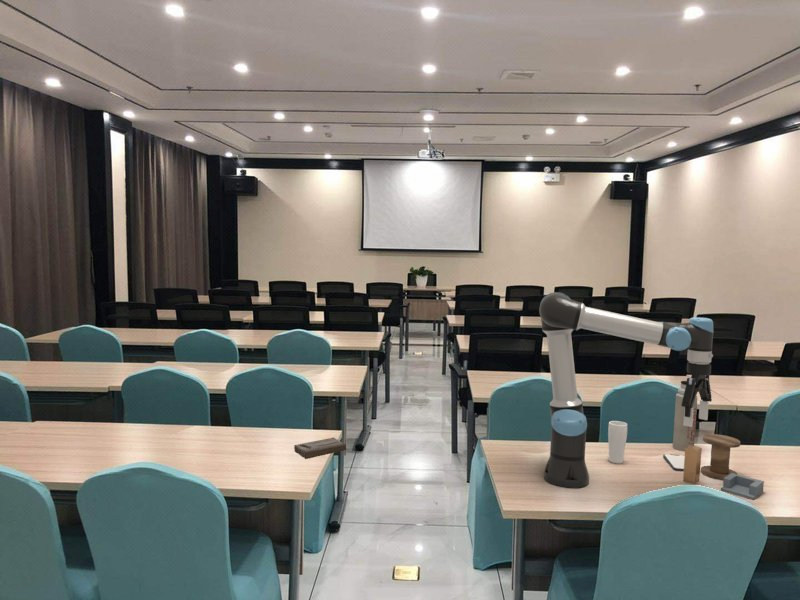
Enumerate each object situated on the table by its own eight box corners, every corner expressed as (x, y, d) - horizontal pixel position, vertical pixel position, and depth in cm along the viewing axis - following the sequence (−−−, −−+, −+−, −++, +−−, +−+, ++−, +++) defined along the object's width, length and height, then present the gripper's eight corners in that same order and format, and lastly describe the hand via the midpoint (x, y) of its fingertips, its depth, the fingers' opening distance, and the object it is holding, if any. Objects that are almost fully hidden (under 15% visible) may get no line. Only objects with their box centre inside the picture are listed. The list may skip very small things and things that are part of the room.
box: (346, 451, 232) (346, 443, 232) (305, 460, 222) (305, 451, 222) (333, 444, 241) (333, 436, 241) (293, 452, 231) (293, 444, 231)
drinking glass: (626, 465, 226) (629, 426, 225) (607, 463, 227) (610, 424, 226) (623, 459, 232) (626, 421, 231) (605, 458, 234) (607, 420, 233)
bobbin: (731, 483, 210) (733, 446, 209) (695, 473, 219) (697, 438, 218) (742, 475, 219) (745, 439, 218) (707, 466, 227) (710, 432, 226)
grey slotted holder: (753, 499, 196) (754, 488, 196) (720, 490, 203) (721, 479, 203) (763, 492, 203) (763, 481, 203) (731, 483, 210) (731, 472, 210)
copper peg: (694, 484, 209) (697, 450, 208) (683, 480, 212) (685, 447, 211) (699, 481, 211) (701, 448, 210) (687, 478, 214) (689, 445, 213)
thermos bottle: (698, 451, 246) (702, 383, 244) (682, 452, 243) (686, 384, 241) (684, 444, 253) (688, 379, 251) (668, 446, 251) (672, 379, 249)
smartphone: (699, 474, 220) (685, 459, 236) (699, 470, 220) (686, 455, 236) (673, 472, 222) (661, 457, 237) (673, 468, 222) (662, 453, 237)
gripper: (696, 368, 197) (692, 431, 199) (723, 360, 214) (720, 418, 216) (673, 364, 202) (669, 426, 204) (701, 357, 220) (698, 414, 221)
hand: (695, 422), depth 210 cm, fingers open, 13 cm apart
